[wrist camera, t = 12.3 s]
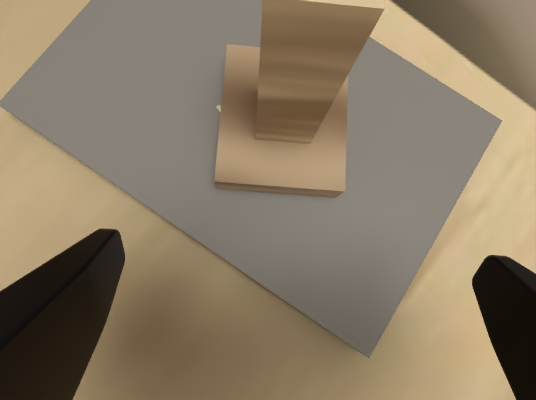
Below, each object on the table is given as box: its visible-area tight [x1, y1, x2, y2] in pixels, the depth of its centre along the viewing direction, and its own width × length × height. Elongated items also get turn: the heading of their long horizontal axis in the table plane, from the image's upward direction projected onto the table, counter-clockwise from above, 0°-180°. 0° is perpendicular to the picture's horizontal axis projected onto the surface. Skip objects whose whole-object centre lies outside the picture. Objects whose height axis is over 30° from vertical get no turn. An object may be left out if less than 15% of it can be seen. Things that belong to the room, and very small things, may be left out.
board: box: [0, 0, 502, 358], centre depth 21 cm, size 26×17×2 cm, turn 56°
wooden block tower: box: [214, 0, 384, 198], centre depth 14 cm, size 8×7×12 cm
